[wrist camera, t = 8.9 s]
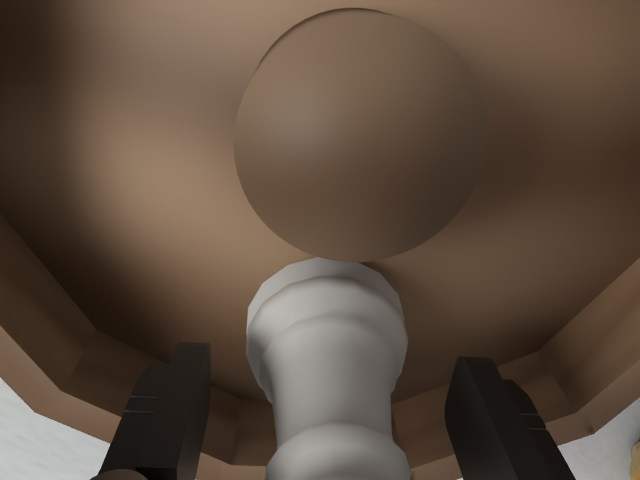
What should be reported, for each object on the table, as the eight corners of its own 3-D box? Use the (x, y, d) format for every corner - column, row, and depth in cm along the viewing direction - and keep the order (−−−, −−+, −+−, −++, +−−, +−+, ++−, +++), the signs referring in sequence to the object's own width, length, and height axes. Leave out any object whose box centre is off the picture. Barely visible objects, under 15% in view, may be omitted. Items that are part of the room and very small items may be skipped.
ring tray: (-258, -636, 8) (-628, -1047, 5) (980, -416, 9) (1322, -616, 6) (-1, 400, 17) (-69, 494, 14) (599, 424, 19) (659, 513, 16)
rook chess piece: (315, 216, 13) (334, 471, 6) (433, 307, 15) (560, 602, 8) (216, 326, 15) (137, 639, 8) (332, 400, 16) (358, 724, 9)
